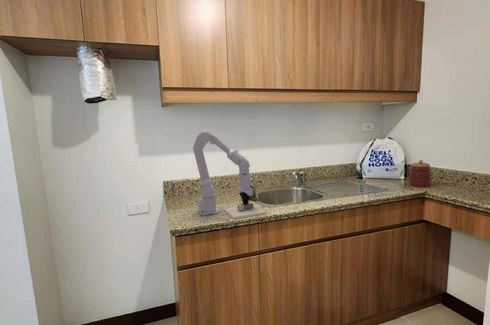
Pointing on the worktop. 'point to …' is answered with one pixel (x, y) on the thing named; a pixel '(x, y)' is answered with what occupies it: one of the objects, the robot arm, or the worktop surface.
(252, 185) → the food container
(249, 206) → the dial lever
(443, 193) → the worktop surface
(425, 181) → the canister
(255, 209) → the dial panel
